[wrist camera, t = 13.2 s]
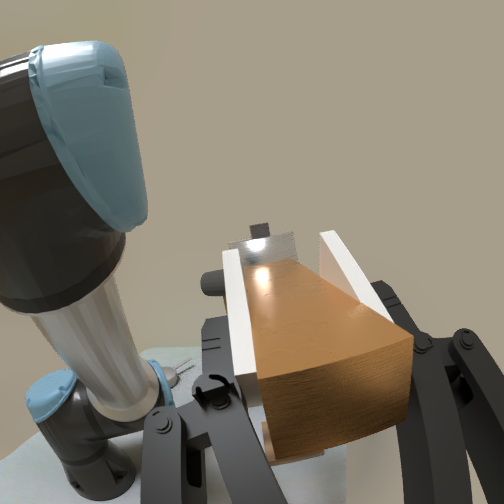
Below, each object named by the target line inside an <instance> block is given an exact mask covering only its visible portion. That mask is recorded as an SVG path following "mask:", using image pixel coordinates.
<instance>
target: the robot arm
mask: <svg viewBox="0 0 504 504" xmlns="http://www.w3.org/2000/svg"><path fill="white" fill-rule="evenodd" d="M147 212H148V203H147V195H146V188H145V181H144V175H143V169H142V163H141V156H140V150H139V145H138V139H137V133H136V127H135V121H134V115H133V110H132V103H131V97H130V91H129V86H128V81H127V75H126V71H125V66H124V63H123V60H122V57H121V56H120V54H119V52H118V51H117V50H116V49H115V48H114V47H113V46H111V45H110V44H108V43H106V42H102V41H82V42H72V43H63V44H56V45H49V46H44V45H41V46H38V47H36V48H34V49H33V50H31V51H27V52H24V53H21V54H18V55H14V56H12V57H9V58H6V59H3V60H0V303H1V304H2V305H3V306H4V307H6V308H7V309H9V310H10V311H12V312H15V313H18V314H21V315H26V316H30V317H31V318H32V320H33V321H34V323H35V324H36V326H37V327H38V329H39V330H40V331H41V333H42V334H43V335H44V337H45V338H46V339H47V341H48V342H49V343H50V345H51V346H52V347H53V349H54V350H55V351H56V352H57V354H58V355H59V356H60V357H61V359H62V360H63V361H64V362H65V363H66V364H67V366H68V367H69V368H70V369H71V370H69V369H68V370H66V369H62V370H58V371H54V372H52V373H50V374H48V375H46V376H44V377H42V378H41V379H39V380H38V381H37V382H36V383H34V384H33V385H32V386H31V387H30V389H29V390H28V392H27V394H26V405H27V407H28V409H29V411H30V413H31V415H32V418H33V421H34V422H35V423H36V424H37V426H38V428H39V429H40V431H41V432H42V434H43V436H44V437H45V439H46V440H47V442H48V443H49V445H50V446H51V448H52V449H53V450H54V452H55V453H56V455H57V456H58V457H59V459H60V460H61V462H62V465H63V468H64V471H65V473H66V476H67V479H68V481H69V483H70V484H71V486H72V487H73V488H74V489H75V490H76V491H77V493H79V494H80V495H81V496H83V497H85V498H87V499H90V500H97V501H102V500H109V499H112V498H115V497H117V496H119V495H121V494H122V493H124V492H125V491H126V490H127V489H128V488H129V487H130V486H131V484H132V483H133V481H134V478H135V468H134V465H133V463H132V462H131V460H130V459H129V457H128V456H127V455H126V454H125V453H124V452H123V451H122V450H120V449H119V448H118V447H117V446H116V445H114V444H113V443H112V442H111V441H110V440H108V439H110V438H114V437H118V436H122V435H127V434H131V433H134V432H138V431H142V430H144V432H143V446H142V464H141V504H207V493H206V475H205V452H204V449H205V448H207V447H210V446H212V447H213V450H214V453H215V456H216V459H217V462H218V465H219V468H220V470H221V473H222V476H223V479H224V481H225V484H226V487H227V489H228V492H229V495H230V497H231V500H232V502H233V504H288V503H287V501H286V499H285V497H284V495H283V493H282V490H281V488H280V486H279V484H278V482H277V480H276V478H275V475H274V473H273V471H272V469H271V467H270V464H269V462H268V460H267V458H266V455H265V453H264V451H263V448H262V446H261V444H260V441H259V439H258V437H257V434H256V432H255V429H254V427H253V425H252V422H251V420H250V417H249V414H248V408H249V407H255V406H261V405H263V402H262V397H261V393H260V388H259V384H258V379H257V371H256V363H255V356H254V348H253V340H252V332H251V320H250V312H249V304H248V296H247V289H246V284H245V280H244V275H243V270H242V265H241V261H240V256H239V251H238V248H237V249H232V250H227V251H222V256H223V268H224V279H225V290H226V301H227V311H228V315H226V316H221V317H215V318H210V319H206V321H205V323H204V325H203V327H202V331H201V333H202V372H203V374H202V375H200V376H199V377H198V378H197V379H196V380H195V381H194V384H193V386H192V396H193V397H194V398H195V399H194V400H193V401H191V402H190V403H188V404H185V405H183V406H180V407H178V408H175V403H174V401H173V395H172V392H171V389H170V386H169V384H168V381H167V379H166V376H165V374H164V372H163V370H162V368H161V366H160V365H159V363H157V361H155V360H144V359H143V358H141V357H140V356H139V355H138V353H137V350H136V347H135V344H134V342H133V339H132V336H131V333H130V330H129V326H128V323H127V320H126V317H125V314H124V310H123V307H122V304H121V300H120V296H119V293H118V289H117V285H116V281H115V278H114V273H115V271H116V269H117V268H118V266H119V264H120V262H121V260H122V257H123V254H124V251H125V245H126V236H125V232H130V231H131V230H132V229H134V228H135V227H136V226H139V225H141V224H143V223H144V221H145V220H146V219H147ZM319 261H320V263H319V276H320V277H321V278H323V279H325V280H326V281H328V282H329V283H331V284H332V285H334V286H336V287H337V288H339V289H340V290H342V291H343V292H345V293H346V294H348V295H350V296H351V297H353V298H354V299H356V300H357V301H359V302H360V303H363V304H365V305H366V306H368V307H370V308H371V309H373V310H374V311H376V312H377V313H379V314H380V315H382V316H384V317H385V318H387V319H388V320H390V321H391V322H393V323H394V324H396V325H397V326H399V327H401V328H402V329H404V330H405V331H407V332H408V333H410V334H411V335H413V336H414V340H413V360H412V373H411V383H410V392H409V400H408V408H407V414H406V421H403V422H401V423H399V424H397V425H396V430H397V436H398V443H399V451H400V458H401V468H402V478H403V491H404V504H473V503H472V491H471V482H470V473H469V466H468V460H467V454H466V450H467V452H468V454H469V457H470V459H471V461H472V464H473V466H474V469H475V471H476V473H477V476H478V478H479V481H480V483H481V486H482V489H483V492H484V494H485V497H486V500H487V503H488V504H504V375H503V374H502V372H501V370H500V369H499V367H498V366H497V364H496V363H495V361H494V359H493V358H492V356H491V355H490V353H489V352H488V351H487V349H486V347H485V346H484V345H483V343H482V342H481V340H480V339H479V338H478V336H477V335H476V334H475V333H474V332H473V331H471V330H469V329H465V328H462V329H459V330H457V331H456V332H455V334H454V335H453V337H449V338H432V337H431V336H430V335H429V334H427V333H424V332H421V331H420V330H419V329H418V328H417V326H416V324H415V323H414V321H413V320H412V318H411V317H410V315H409V313H408V312H407V310H406V309H405V307H404V306H403V304H401V301H400V300H399V298H398V297H397V295H396V294H395V293H394V291H393V289H392V288H391V287H390V286H389V285H388V284H386V283H385V282H383V281H382V280H381V281H377V282H373V283H369V281H368V280H367V278H366V277H365V275H364V273H363V272H362V270H361V269H360V267H359V266H358V264H357V263H356V261H355V260H354V258H353V257H352V255H351V254H350V252H349V251H348V250H347V248H346V247H345V245H344V244H343V242H342V241H341V239H340V238H339V237H338V235H337V234H336V232H335V231H334V230H332V231H327V232H322V233H320V260H319ZM77 377H78V378H77ZM247 406H248V407H247Z"/></svg>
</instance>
